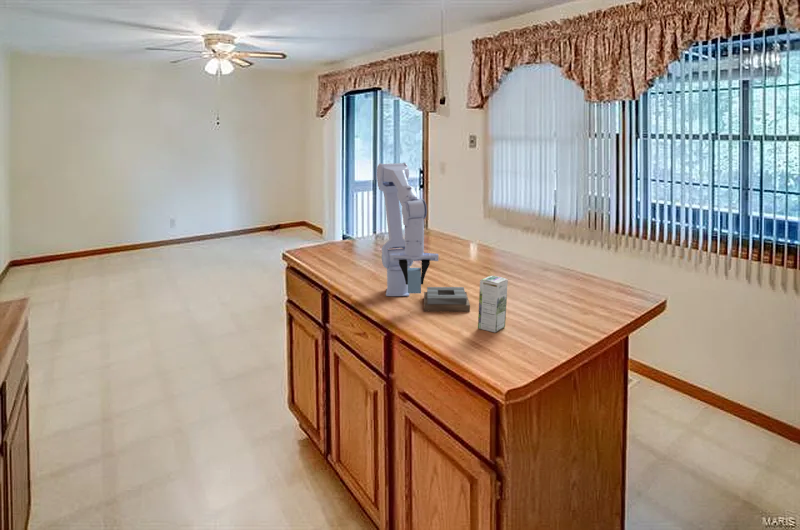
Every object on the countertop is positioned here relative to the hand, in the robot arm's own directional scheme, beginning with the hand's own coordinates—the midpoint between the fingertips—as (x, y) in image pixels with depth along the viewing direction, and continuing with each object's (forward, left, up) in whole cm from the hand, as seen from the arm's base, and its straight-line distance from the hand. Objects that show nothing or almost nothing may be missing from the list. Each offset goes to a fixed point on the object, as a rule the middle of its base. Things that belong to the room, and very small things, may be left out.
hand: (414, 283), depth 165 cm
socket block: (-6, +10, -9) cm, 15 cm away
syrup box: (+15, +22, -9) cm, 28 cm away
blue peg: (0, 0, -2) cm, 3 cm away
